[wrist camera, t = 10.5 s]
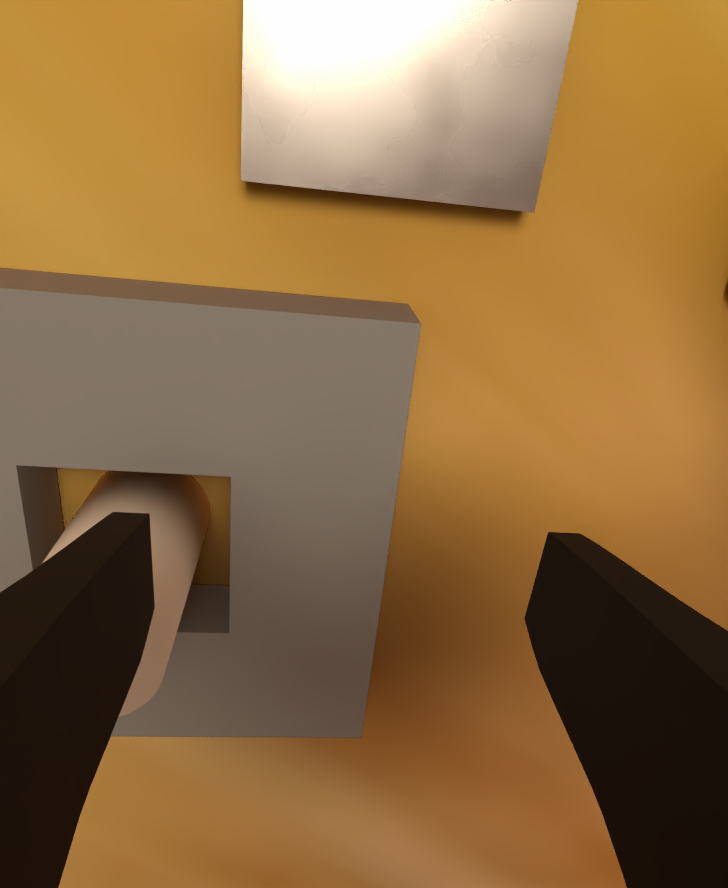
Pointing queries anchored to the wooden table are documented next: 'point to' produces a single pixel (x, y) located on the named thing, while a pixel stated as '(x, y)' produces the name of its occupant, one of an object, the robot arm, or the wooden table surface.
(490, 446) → the wooden table surface
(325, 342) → the hole plate
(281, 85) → the square grey metal plate
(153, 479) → the peg
